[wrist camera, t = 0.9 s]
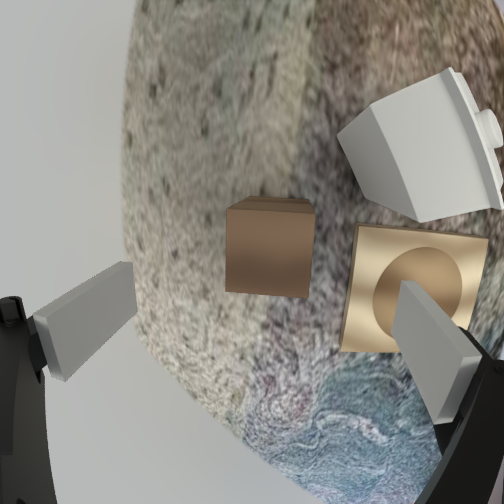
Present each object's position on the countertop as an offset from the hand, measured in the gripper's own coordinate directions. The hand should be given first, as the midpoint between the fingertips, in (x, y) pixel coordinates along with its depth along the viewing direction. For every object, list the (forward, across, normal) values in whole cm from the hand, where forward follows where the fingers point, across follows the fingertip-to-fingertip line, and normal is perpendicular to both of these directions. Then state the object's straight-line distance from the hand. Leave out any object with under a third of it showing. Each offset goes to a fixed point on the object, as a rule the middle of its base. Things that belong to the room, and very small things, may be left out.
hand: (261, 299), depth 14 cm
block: (+19, 0, 0) cm, 19 cm away
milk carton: (+19, +10, +8) cm, 23 cm away
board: (+18, +16, -6) cm, 25 cm away
